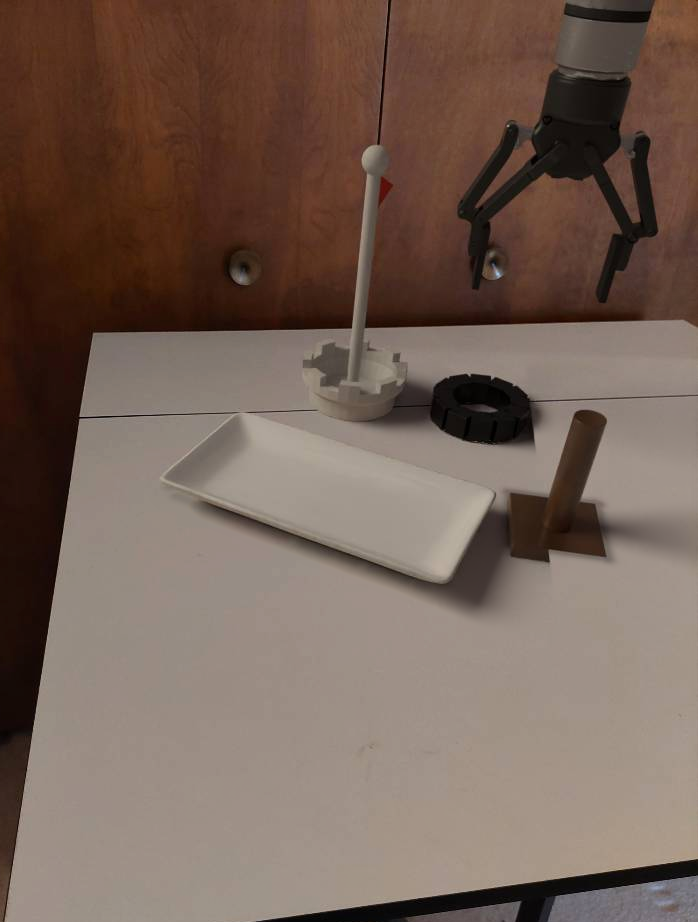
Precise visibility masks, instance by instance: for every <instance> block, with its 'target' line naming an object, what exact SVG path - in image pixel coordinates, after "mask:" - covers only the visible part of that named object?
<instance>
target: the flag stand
mask: <svg viewBox="0 0 698 922" xmlns="http://www.w3.org/2000/svg"><path fill="white" fill-rule="evenodd" d="M389 165H390V153H389V152H388V149H386V148H385V147H383V146H382V145H381V144H373V145H370V146H368V147H367V148H366V149H365V150H364V152H363V153H362V157H361V166H362V169H363V170H364V172H366V181H365V182H366V183H365V192H364V202H363V213H362V224H361V231H360V232H361V234H360V242H359V253H358V265H357V275H356V286H355V294H354V295H355V296H354V303H353V304H354V305H353V315H352V324H351V325H352V327H351V334H350V335H351V337H350V340H349V345H336V341H335V340H334V339H333V338H328V339H323V340H321V341H318V342H316V343H315V351H311V350H307V349H306V350H305V351H304V353H303V354H302V355H303V356H302V366H301V368H302V369H301V378H302V382H303V383H304V384H305V386H306V387H307V388H308V401H309V403H310V404H311V406H312V407H313V408H314V409H315V410H316V411H318V412H319V413H321V414H323V415H325V416H328V417H330V418H334V419H337V420H342V421H347V422H349V421H350V422H365V421H372V420H375V419H379V418H382V417H384V416H386V415H387V414H388V413H390V412H391V411H392V409H393V408H394V405H395V401H396V396H398V395H399V394H400V393H402V391H403V390H404V389H405V386H406V382H407V376H408V368H409V365H408V364H409V363H408V361H401V354H402V353H401V352H400V351H399V350H398V349H396V348H395V347H393V346H391V345H389V344H386V345H384V346H382V348H381V350H379V349H376V348H373V347H370V342H371V339H369V338H364V337H365V330H366V321H367V320H366V319H367V311H368V302H369V294H370V293H369V292H370V283H371V273H372V266H373V265H372V264H373V256H374V246H375V236H376V230H377V229H376V228H377V220H378V219H377V218H378V210H379V208H380V206H381V205H382V203H383V202H384V200H385V199H386V197H387V196H388V195H389V193H390V192H391V190H392V188H394V184H393V183H391V182H390V181H389V180H388V179H386V178H385V177H384V176H382V174H384V173H385V172H386V171H387V170H388V168H389Z"/></svg>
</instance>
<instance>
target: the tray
mask: <svg viewBox="0 0 698 922" xmlns="http://www.w3.org/2000/svg"><path fill="white" fill-rule="evenodd" d="M159 482H160V483H161V484H163V485H165V486H167V487H169V488H172V489H174V490H176V491H178V492H180V493H182V494H185V495H188V496H190V497H192V498H194V499H198V500H201V501H204V502H205V503H208V504H211V505H213V506H216V507H219V508H222V509H225V510H226V511H230V512H233V513H235V514H238V515H242V516H244V517H247V518H249V519H252V520H254V521H258V522H260V523H262V524H266V525H269V526H272V527H274V528H277V529H280V530H282V531H284V532H287V533H290V534H293V535H296V536H299V537H302V538H305V539H307V540H310V541H313V542H316V543H319V544H321V545H324V546H326V547H329V548H331V549H335V550H338V551H340V552H343V553H346V554H348V555H352V556H355V557H357V558H360V559H363V560H366V561H368V562H372V563H375V564H377V565H380V566H382V567H385V568H388V569H390V570H394V571H396V572H397V573H400V574H401V573H402V574H404V575H407V576H410V577H413V578H415V579H419V580H422V581H426V582H428V583H429V582H430V583H435V584H439V585H440V584H442V585H443V584H447V583H449V582H450V581H451V580H452V579H453V577H454V576H455V574H456V572H457V571H458V569H459V567H460V564H461V562H462V561H463V558H464V556H465V554H466V553H467V550H468V549H469V547H470V545H471V543H472V541H473V539H474V538H475V536H476V534H477V533H478V530H479V528H480V527H481V525H482V523H483V522H484V519H485V518H486V516H487V514H488V513H489V511H490V509H491V508H492V506H493V504H494V502H495V500H496V498H497V492H496V490H494V489H492V488H490V487H487V486H485V485H482V484H478V483H475V482H472V481H468V480H465V479H463V478H458V477H455V476H453V475H452V476H451V475H448V474H445V473H442V472H439V471H435V470H432V469H429V468H426V467H422V466H419V465H417V464H414V463H409V462H406V461H404V460H400V459H397V458H393V457H390V456H387V455H384V454H380V453H378V452H374V451H371V450H367V449H365V448H362V447H358V446H355V445H352V444H349V443H346V442H343V441H339V440H336V439H333V438H330V437H327V436H323V435H320V434H317V433H314V432H310V431H308V430H304V429H302V428H298V427H295V426H292V425H289V424H286V423H282V422H280V421H276V420H273V419H270V418H266V417H263V416H260V415H257V414H253V413H249V412H244V411H241V412H237V413H234V414H232V415H231V416H230V417H229V418H227V419H226V420H225V421H224V422H223V423H221V424H220V425H219V426H218V427H217V428H216V429H215V430H214V431H212V432H211V433H210V434H208V436H206V437H205V438H204V439H203V440H202V441H200V442H199V443H198V444H197V445H195V446H194V447H193V448H192V449H191V450H189V452H187V453H186V454H185V455H183V456H182V457H181V458H180V459H179V460H178V461H176V462H175V463H174V464H173V465H172V466H171V467H169V468H168V469H167V470H166V471H164V473H162V474H161V475H160V477H159Z"/></svg>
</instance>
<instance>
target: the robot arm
mask: <svg viewBox="0 0 698 922" xmlns="http://www.w3.org/2000/svg"><path fill="white" fill-rule="evenodd" d="M696 1H697V2H698V0H696ZM655 3H656V0H565V4H564V9H563V14H562V19H561V22H560V27H559V32H558V36H557V40H556V44H555V48H554V54H553V57H552V58H553V59H552V62H553V64H554V65H555V66H556V67H557V68H555V69H553V70H552V71H551V72H550V73H549V75H548V79H547V84H546V89H545V93H544V98H543V101H542V107H541V111H540V116H539V118H538V121H537V122H536V124H535V125H534V127H533V126H528V125H523V124H519V123H518V122H517V120H515V119H510V120H508V121H507V122H506V123H505V125H504V128H503V132H502V134H501V138H500V141H499V143H498V145H497V146H496V147H495V149H494V151H493V152H492V154H491V156H490V157H489V158H488V159H487V161H486V163H485V164H484V165H483V167H482V169H481V170H480V171H479V172H478V174H477V175H476V177H475V179H474V180H473V181H472V182H471V185H470V186H469V187H468V188H467V190H466V191H465V192H464V194H463V196H462V197H461V198H460V200H459V202H458V203H457V207H456V208H457V209H456V211H457V213H456V214H457V217H458V218H459V219H460V220H465V221H467V222H469V223H470V232H469V236H468V242H467V254H468V257H475V260H474V265H473V271H472V275H471V290H475V291H480V286H481V281H482V276H483V271H484V267H485V262H486V261H485V260H486V255H487V251H488V245H489V241H490V236H491V231H492V229H491V228H492V227H491V221H490V220H491V219H493V218H494V217H495V216H496V215H497V214H498V213H499V212H500V211H502V210H503V209H504V208H505V207H506V206H507V205H508V204H509V203H511V202H512V201H513V200H514V199H515V198H516V197H517V196H518V195H520V194H521V193H522V192H523V191H524V190H525V189H526V188H527V187H528V186H530V185H531V184H532V183H533V182H535V181H538V179H539V178H541V177H542V176H543V175H544V174H545V175H547V176H549V177H550V179H555V180H556V179H558V180H561V179H565V178H568V179H571V180H573V181H578V182H579V181H580V182H583V181H584V180H585V179H588V178H591V176H592V177H593V178H594V180H595V182H596V184H597V186H598V188H599V190H600V191H601V194H602V196H603V198H604V199H605V202H606V203H607V205H608V208H609V209H610V211H611V213H612V215H613V217H614V219H615V222H616V223H617V225H618V227H619V229H620V231H621V233H612V235H611V239H610V242H609V246H608V248H607V252H606V254H605V259H604V263H603V266H602V269H601V272H600V275H599V276H600V277H599V279H598V283H597V285H596V290H595V296H596V299H597V303H599V304H607V301H608V297H609V294H610V291H611V289H612V285H613V282H614V278H615V275H616V272H625V270H626V269H627V267H628V265H629V261H630V258H631V256H632V252H633V249H634V246H635V245H636V244H637V243H638V242H639V240H640V239H643V238H655V237H656V236H657V235H658V233H659V227H658V220H657V214H656V209H655V203H654V197H653V191H652V184H651V179H650V173H649V166H648V158H649V152H650V148H651V144H652V143H651V141H652V140H651V138H650V137H649V135H648V134H647V133H646V132H645V131H644V130H638V131H636V132H635V133H634V134H633V133H632V134H621V132H620V131H621V123H622V120H623V116H624V114H625V109H626V106H627V102H628V99H629V96H630V95H629V94H630V92H631V88H632V84H633V82H632V81H631V78H630V77H629V75H628V74H631V73H633V72H634V71H635V70H636V69H637V66H638V63H639V59H640V55H641V53H642V52H641V51H642V48H643V44H644V40H645V38H646V34H647V29H648V26H649V23H650V19H651V16H652V13H653V12H652V11H653V8H654V5H655ZM527 141H530V142H531V145H532V147H533V149H534V152H535V153H534V154H533V155H532V156H531V157H530V158H529V159H528V160H527V161H526V162H525V163H524V165H523V166H522V167H520V169H519V170H517V172H515V173H514V174H513V175H512V176H511V177H510V178H509V179H507V181H506V182H504V183H503V184H502V185H501V186H500V187H499V188H498V189H497V190H495V191H494V193H493V194H491V195H490V196H489V197H488V198H487V199H486V200H485V201H483V202H482V203H481V204H480V205H479V206H478V207H477V205H478V203H479V202H480V200H481V199H482V197H483V196H484V195H485V193H486V192H487V190H488V189H489V188H490V186H491V184H492V183H493V182H494V181H495V179H496V178H497V176H498V175H499V174H500V172H501V171H502V169H503V167H505V165H506V163H507V162H508V160H509V159H510V157H511V155H512V154H513V151H514V150H519V149H520V148H522V146H523V145H524V143H525V142H527ZM619 149H622V150H623V155H624V157H625V158H626V159H627V160H629V162H630V163H629V164H630V169H631V175H632V181H633V187H634V192H635V198H636V204H637V210H638V215H639V221H637V222H633V221H632V219H631V216H630V215H629V213H628V211H627V209H626V207H625V205H624V203H623V201H622V199H621V197H620V194H619V193H618V191H617V189H616V187H615V185H614V183H613V181H612V179H611V177H610V174H609V173H608V171H607V169H606V167H605V165H604V164H605V163H606V162H607V161H608V160H610V158H612V157H613V155H615V154H616V153H617V151H618V150H619Z"/></svg>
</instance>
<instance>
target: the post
mask: <svg viewBox="0 0 698 922" xmlns="http://www.w3.org/2000/svg"><path fill="white" fill-rule="evenodd" d="M607 423H608V418H607V416H605V415H604V414H602V413H601V412H598V411H596V410H594V409H593V410H592V409H579V410H576V411H575V412H574V414H573V416H572V420H571V423H570V425H569V429H568V431H567V432H568V433H567V436H566V439H565V442H564V444H563V445H564V446H563V448H562V451H561V455H560V459H559V462H558V465H557V468H556V471H555V475H554V478H553V481H552V484H551V488H550V491H549V494H548V497H547V496H540V495H531V494H524V493H518V492H517V493H516V492H509V495H508V498H507V503H506V504H507V505H506V507H507V523H508V534H509V535H508V536H509V547H510V548H509V550H510V557H514V558H522V559H528V560H533V561H534V560H536V561H542V560H543V562H549V561H550V562H551V558H550V551H556V552H558V551H559V552H563V553H570V554H578V555H585V556H592V557H601V558H607V552H606V548H605V544H604V539H603V533H602V529H601V524H600V519H599V513H598V510H597V505H596V503H593V502H585V501H581V500H582V497H583V494H584V491H585V489H586V486H587V483H588V479H589V476H590V474H591V471H592V468H593V464H594V462H595V459H596V455H597V454H598V450H599V447H600V444H601V442H602V439H603V435H604V433H605V430H606V427H607Z"/></svg>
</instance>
